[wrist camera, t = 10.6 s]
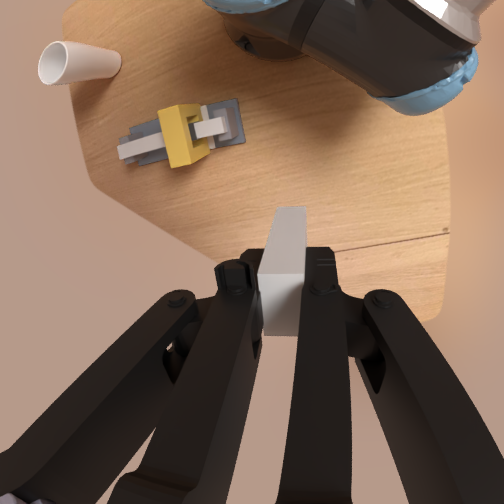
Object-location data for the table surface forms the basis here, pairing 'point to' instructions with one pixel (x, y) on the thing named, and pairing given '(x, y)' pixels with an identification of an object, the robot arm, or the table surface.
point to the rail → (219, 139)
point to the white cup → (76, 63)
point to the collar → (182, 134)
